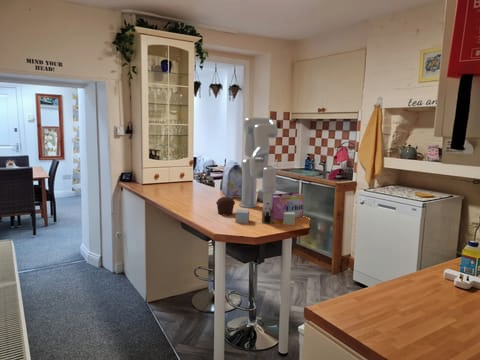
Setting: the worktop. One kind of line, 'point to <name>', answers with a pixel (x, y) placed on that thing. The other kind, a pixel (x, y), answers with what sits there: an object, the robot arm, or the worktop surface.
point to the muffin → (225, 205)
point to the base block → (242, 216)
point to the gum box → (287, 204)
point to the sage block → (289, 218)
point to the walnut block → (270, 216)
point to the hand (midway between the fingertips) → (267, 220)
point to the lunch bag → (232, 180)
